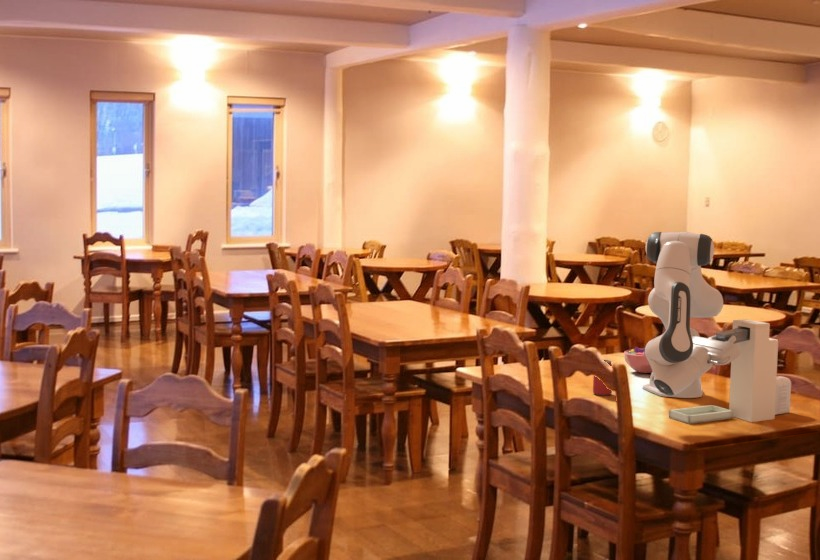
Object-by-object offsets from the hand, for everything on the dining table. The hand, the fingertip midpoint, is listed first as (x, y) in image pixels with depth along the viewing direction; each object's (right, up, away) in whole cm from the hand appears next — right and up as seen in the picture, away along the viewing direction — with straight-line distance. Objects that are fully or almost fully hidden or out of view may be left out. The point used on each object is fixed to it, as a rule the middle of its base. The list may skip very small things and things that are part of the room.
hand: (727, 336), depth 333 cm
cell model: (-6, -19, +83) cm, 86 cm away
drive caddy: (+3, -2, +2) cm, 4 cm away
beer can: (-32, -23, +41) cm, 57 cm away
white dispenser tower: (+10, -27, +8) cm, 30 cm away
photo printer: (+20, -27, +14) cm, 36 cm away
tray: (-7, -27, +6) cm, 28 cm away
